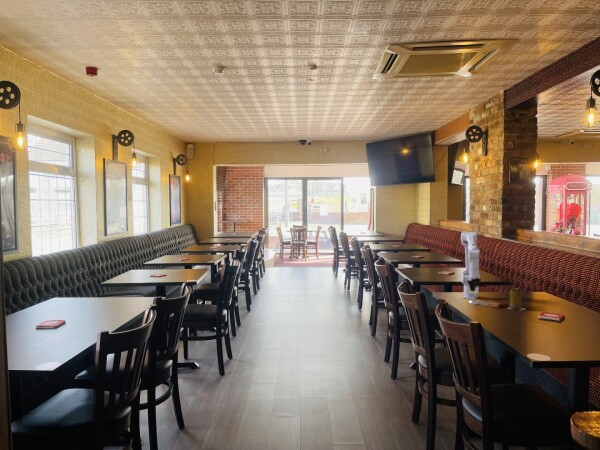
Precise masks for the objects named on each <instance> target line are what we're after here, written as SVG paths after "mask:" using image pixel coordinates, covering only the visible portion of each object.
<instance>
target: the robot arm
mask: <svg viewBox="0 0 600 450" xmlns="http://www.w3.org/2000/svg"><path fill="white" fill-rule="evenodd" d="M460 242H461V246H463V247H464V254H465V257H464V258H465V269H464V270H463V271H462V272H461V279H460V280H461V283H462V284H463V295H462V296H461V298H463V299H468V300H471V299H472V297H475V299H477V298H479V295H478V293H477V294H473V293H470V290H471V291H475V286H479V285H480V283H481V281H482V279H481V274H480V258H481V249H479V247H478V245H477V242H478V233H477V231H473V232H472V231H465V232H464V231H462V232H461V234H460Z"/></svg>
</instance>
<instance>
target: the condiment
mask: <svg viewBox="0 0 600 450" xmlns="http://www.w3.org/2000/svg"><path fill="white" fill-rule="evenodd" d="M508 309H509V310H517V311H524V310H526V308H523V307H522V293H521V288H517V287H511V288H510V292H509V307H508Z"/></svg>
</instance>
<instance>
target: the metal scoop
mask: <svg viewBox="0 0 600 450" xmlns="http://www.w3.org/2000/svg"><path fill="white" fill-rule="evenodd" d="M467 304H468V305H469V306H470V305H472V306H483V307H489V306H490V308H497V307H498V308H499V307H500V303H499V302H498V303H497V302H489V301H488V302H487V301H481V300H479V299H476V298H475V297H472V299H467Z"/></svg>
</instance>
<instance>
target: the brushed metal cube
mask: <svg viewBox="0 0 600 450" xmlns="http://www.w3.org/2000/svg"><path fill="white" fill-rule="evenodd" d="M470 293H473V294H477V295H478V294H479V286H475V291H471V290H470Z"/></svg>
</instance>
